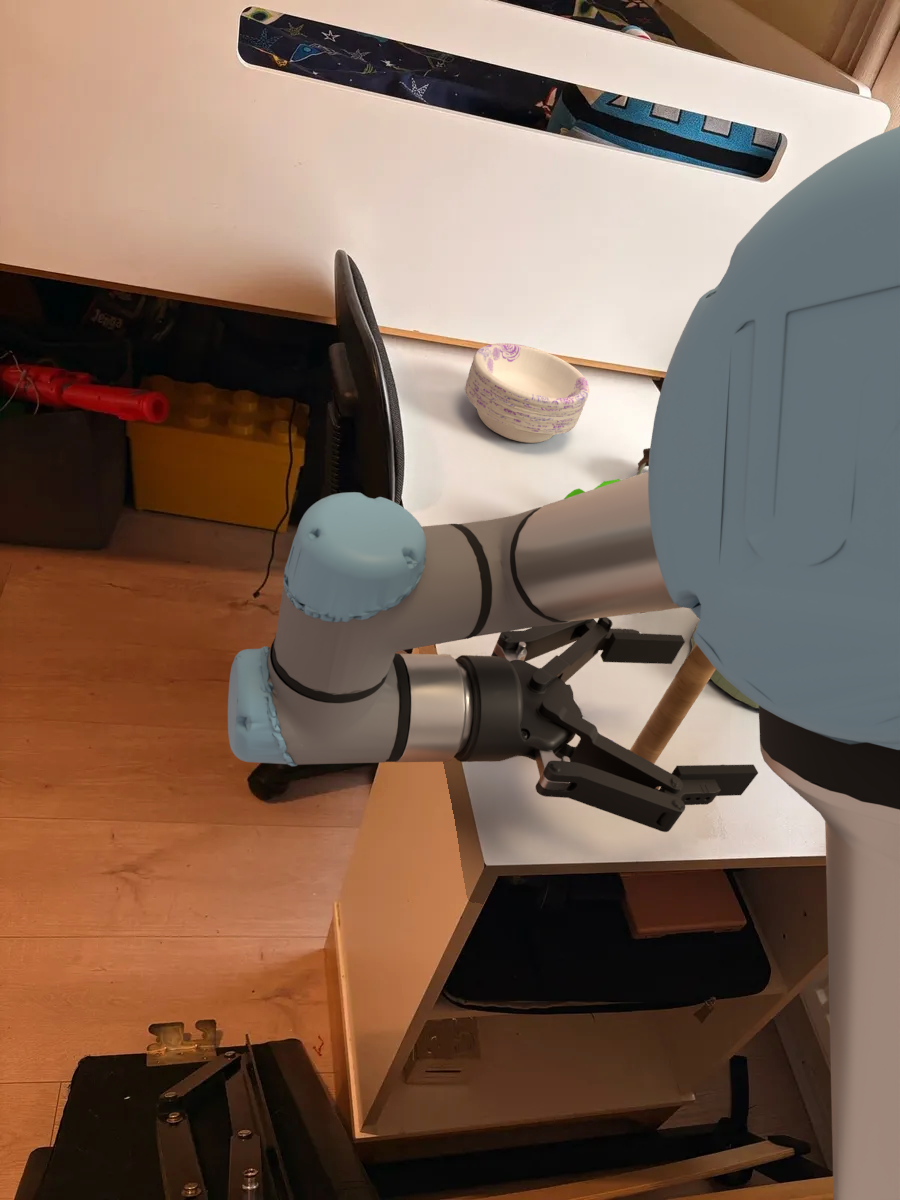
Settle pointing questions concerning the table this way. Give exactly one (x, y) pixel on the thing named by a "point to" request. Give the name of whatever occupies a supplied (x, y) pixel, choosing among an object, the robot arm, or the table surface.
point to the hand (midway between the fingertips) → (710, 710)
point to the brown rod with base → (674, 705)
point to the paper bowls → (525, 392)
